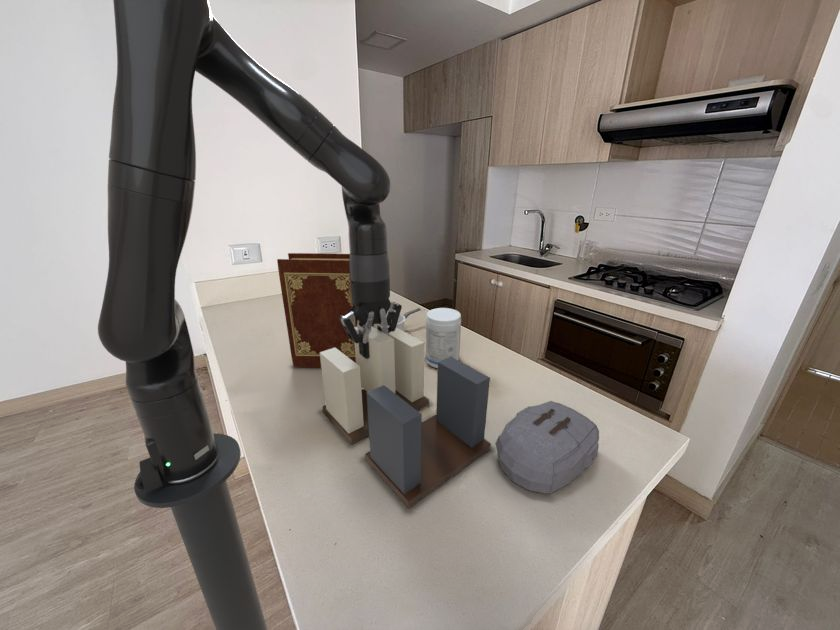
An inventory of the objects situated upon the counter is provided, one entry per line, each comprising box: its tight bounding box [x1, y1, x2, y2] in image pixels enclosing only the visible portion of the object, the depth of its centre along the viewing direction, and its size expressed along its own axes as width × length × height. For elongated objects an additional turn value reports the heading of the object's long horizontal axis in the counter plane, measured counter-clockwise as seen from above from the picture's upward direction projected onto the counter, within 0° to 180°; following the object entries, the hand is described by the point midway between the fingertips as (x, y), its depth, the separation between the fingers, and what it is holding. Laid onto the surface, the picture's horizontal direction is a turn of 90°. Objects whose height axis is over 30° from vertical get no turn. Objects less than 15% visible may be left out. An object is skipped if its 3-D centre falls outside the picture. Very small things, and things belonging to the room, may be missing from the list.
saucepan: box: [375, 307, 422, 332], centre depth 115 cm, size 12×20×6 cm, turn 133°
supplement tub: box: [425, 307, 462, 369], centre depth 94 cm, size 10×10×15 cm
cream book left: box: [320, 348, 364, 434], centre depth 69 cm, size 4×10×14 cm, turn 40°
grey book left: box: [367, 385, 422, 494], centre depth 56 cm, size 4×10×14 cm, turn 40°
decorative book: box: [276, 252, 375, 369], centre depth 91 cm, size 22×8×30 cm, turn 89°
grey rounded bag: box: [495, 400, 600, 494], centre depth 62 cm, size 15×8×20 cm
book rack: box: [321, 388, 492, 509], centre depth 70 cm, size 20×31×2 cm, turn 40°
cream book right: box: [388, 328, 425, 402], centre depth 79 cm, size 4×10×14 cm, turn 40°
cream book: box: [354, 327, 395, 393], centre depth 73 cm, size 4×10×14 cm, turn 40°
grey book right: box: [435, 357, 491, 447], centre depth 66 cm, size 4×10×14 cm, turn 40°
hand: (373, 353), depth 72 cm, fingers closed on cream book, 3 cm apart
